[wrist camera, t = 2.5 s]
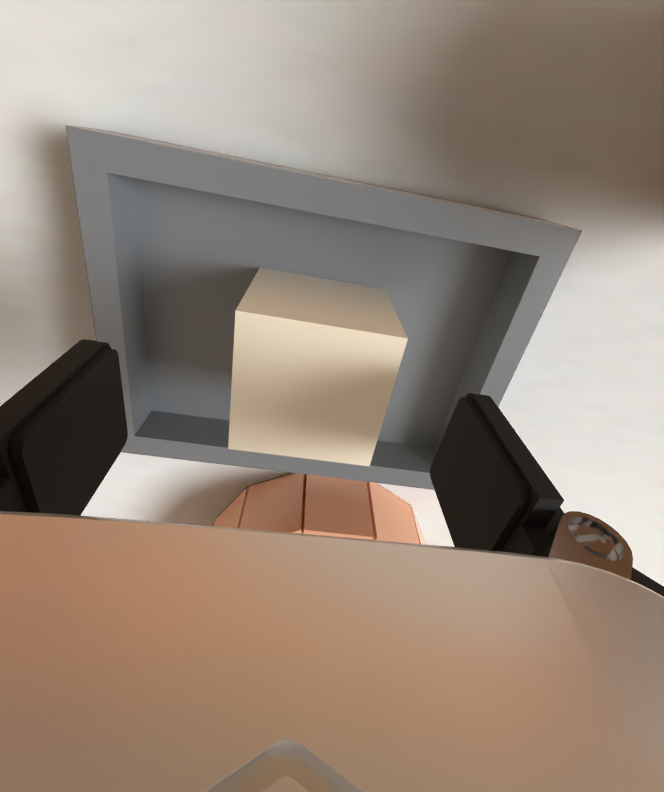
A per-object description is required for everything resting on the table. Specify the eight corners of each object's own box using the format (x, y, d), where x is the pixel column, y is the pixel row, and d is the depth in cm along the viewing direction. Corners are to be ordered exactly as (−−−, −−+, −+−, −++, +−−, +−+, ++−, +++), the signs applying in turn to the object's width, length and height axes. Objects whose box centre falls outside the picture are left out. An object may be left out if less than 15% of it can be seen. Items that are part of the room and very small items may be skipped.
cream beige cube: (384, 289, 16) (408, 338, 11) (358, 394, 18) (369, 466, 14) (260, 267, 15) (235, 310, 11) (251, 378, 18) (228, 448, 13)
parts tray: (544, 220, 15) (582, 230, 13) (443, 458, 21) (457, 492, 19) (107, 130, 13) (65, 125, 11) (135, 418, 19) (112, 450, 17)
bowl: (449, 487, 22) (472, 547, 19) (391, 614, 29) (400, 675, 25) (216, 459, 21) (195, 518, 17) (211, 599, 27) (196, 662, 24)
